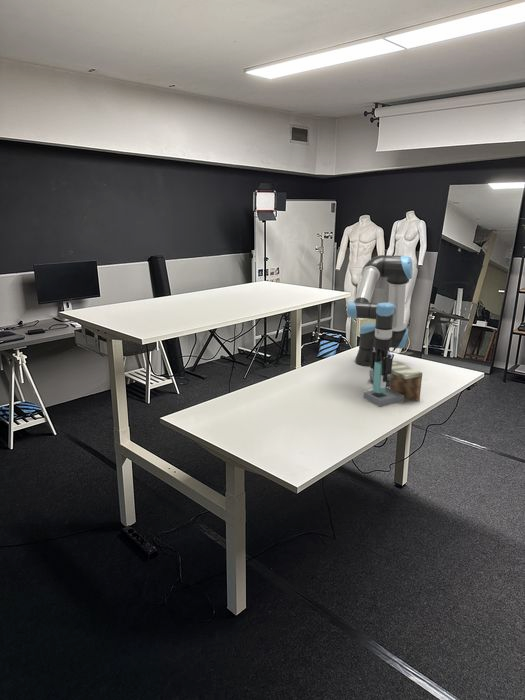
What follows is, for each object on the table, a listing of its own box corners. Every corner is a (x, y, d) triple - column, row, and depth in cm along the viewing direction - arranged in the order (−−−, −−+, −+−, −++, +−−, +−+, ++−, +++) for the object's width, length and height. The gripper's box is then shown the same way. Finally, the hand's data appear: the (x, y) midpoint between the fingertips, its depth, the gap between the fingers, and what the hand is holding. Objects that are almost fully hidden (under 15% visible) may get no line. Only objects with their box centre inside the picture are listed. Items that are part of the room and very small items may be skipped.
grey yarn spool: (401, 378, 241) (393, 363, 238) (390, 390, 237) (382, 374, 234) (381, 377, 253) (373, 362, 249) (371, 388, 248) (362, 373, 245)
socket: (363, 397, 225) (363, 392, 224) (386, 392, 231) (386, 387, 230) (380, 406, 215) (380, 400, 214) (403, 401, 221) (404, 395, 220)
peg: (372, 390, 221) (374, 362, 217) (379, 389, 223) (381, 360, 219) (378, 393, 217) (380, 364, 213) (385, 392, 219) (387, 363, 215)
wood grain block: (377, 391, 232) (379, 364, 228) (393, 388, 236) (395, 361, 232) (403, 404, 217) (405, 376, 213) (419, 400, 221) (422, 372, 217)
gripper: (364, 334, 218) (361, 381, 225) (389, 343, 204) (385, 393, 210) (377, 332, 222) (373, 379, 228) (402, 340, 207) (398, 390, 214)
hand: (379, 385), depth 219 cm, fingers closed on peg, 4 cm apart
